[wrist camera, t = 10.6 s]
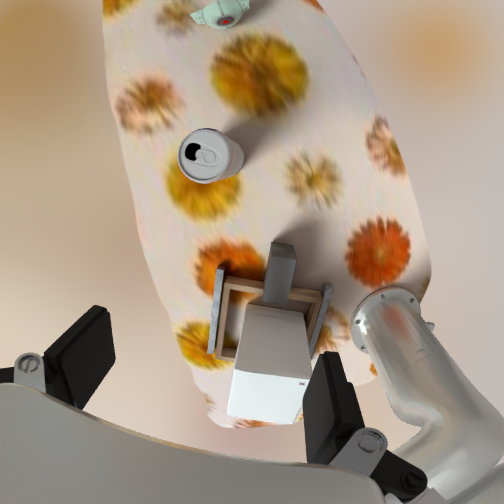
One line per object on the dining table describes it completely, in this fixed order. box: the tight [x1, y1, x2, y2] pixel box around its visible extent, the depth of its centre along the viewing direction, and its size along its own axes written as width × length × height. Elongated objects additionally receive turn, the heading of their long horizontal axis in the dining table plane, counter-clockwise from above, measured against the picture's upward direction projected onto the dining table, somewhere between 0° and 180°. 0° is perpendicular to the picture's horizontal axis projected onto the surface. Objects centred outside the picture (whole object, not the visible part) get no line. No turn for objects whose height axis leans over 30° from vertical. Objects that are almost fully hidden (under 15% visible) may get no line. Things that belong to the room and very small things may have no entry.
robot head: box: [190, 0, 249, 29], centre depth 26 cm, size 8×4×7 cm, turn 106°
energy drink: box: [178, 128, 244, 183], centre depth 30 cm, size 5×5×12 cm
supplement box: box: [227, 304, 312, 424], centre depth 36 cm, size 9×9×15 cm
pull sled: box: [215, 242, 322, 362], centre depth 39 cm, size 14×20×6 cm
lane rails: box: [208, 265, 333, 359], centre depth 42 cm, size 17×15×2 cm
